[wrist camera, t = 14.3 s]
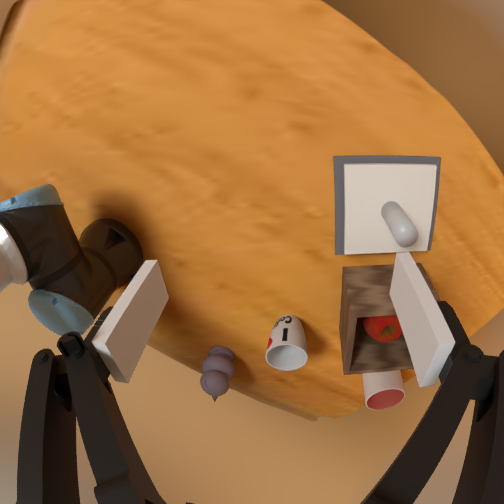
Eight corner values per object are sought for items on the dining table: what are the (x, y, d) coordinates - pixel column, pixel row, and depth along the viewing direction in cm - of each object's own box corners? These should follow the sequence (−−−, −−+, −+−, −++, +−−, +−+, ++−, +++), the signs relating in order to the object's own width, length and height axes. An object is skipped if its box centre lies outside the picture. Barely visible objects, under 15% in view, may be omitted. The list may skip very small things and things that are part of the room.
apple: (354, 311, 62) (360, 349, 53) (365, 278, 57) (375, 316, 48) (390, 314, 61) (401, 351, 52) (403, 283, 57) (418, 319, 47)
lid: (343, 249, 54) (351, 285, 45) (342, 162, 46) (354, 183, 37) (423, 245, 52) (444, 279, 42) (432, 162, 44) (461, 183, 34)
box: (339, 328, 65) (343, 374, 53) (342, 266, 57) (351, 313, 46) (407, 323, 62) (421, 367, 51) (420, 263, 54) (443, 305, 43)
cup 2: (354, 374, 73) (357, 406, 64) (377, 351, 67) (383, 384, 59) (382, 382, 73) (387, 412, 65) (406, 361, 68) (413, 392, 60)
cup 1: (291, 303, 63) (289, 338, 54) (315, 325, 65) (315, 360, 56) (262, 320, 66) (256, 355, 58) (286, 340, 68) (283, 375, 60)
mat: (335, 253, 55) (335, 254, 55) (333, 156, 47) (333, 156, 46) (429, 249, 52) (430, 250, 52) (439, 157, 43) (440, 157, 43)
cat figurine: (242, 363, 75) (235, 402, 65) (215, 366, 77) (204, 403, 67) (229, 341, 71) (219, 381, 61) (200, 345, 73) (188, 383, 63)
